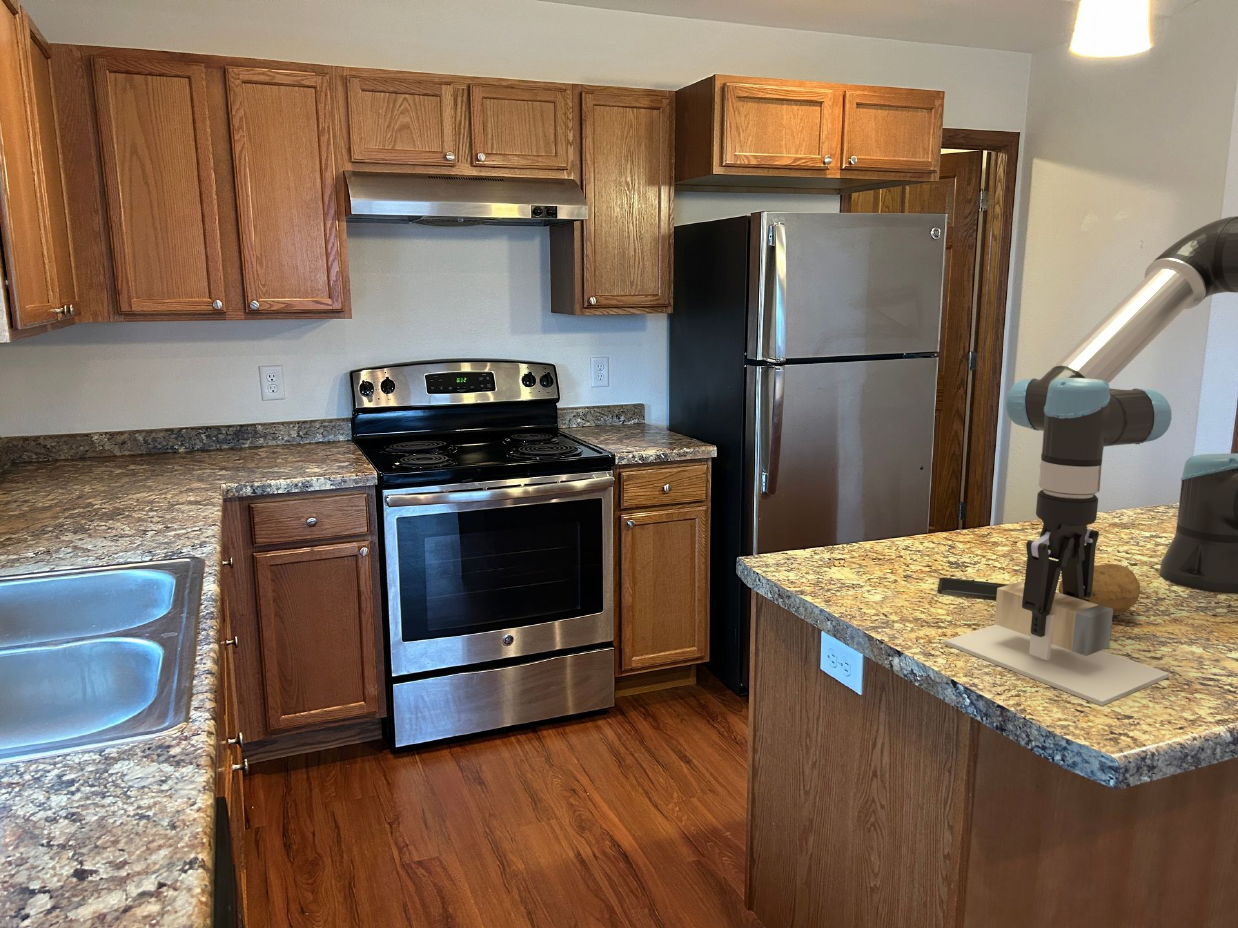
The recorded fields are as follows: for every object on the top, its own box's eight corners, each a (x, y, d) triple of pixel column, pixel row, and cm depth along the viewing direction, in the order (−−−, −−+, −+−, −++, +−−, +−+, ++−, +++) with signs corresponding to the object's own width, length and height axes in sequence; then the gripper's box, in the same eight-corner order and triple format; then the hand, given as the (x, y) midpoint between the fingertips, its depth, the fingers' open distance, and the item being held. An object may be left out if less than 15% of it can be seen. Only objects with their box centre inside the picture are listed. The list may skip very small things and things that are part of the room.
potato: (1037, 611, 149) (1041, 564, 148) (1100, 600, 155) (1105, 554, 153) (1088, 632, 141) (1093, 582, 139) (1152, 619, 146) (1158, 571, 144)
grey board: (944, 644, 136) (944, 640, 136) (1011, 622, 144) (1011, 619, 144) (1101, 705, 116) (1102, 701, 116) (1168, 677, 125) (1169, 673, 124)
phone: (1032, 600, 152) (937, 589, 158) (1032, 607, 152) (936, 595, 158) (1031, 586, 159) (940, 576, 165) (1030, 592, 160) (939, 582, 165)
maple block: (1020, 581, 136) (1113, 609, 125) (1017, 616, 137) (1109, 647, 126) (997, 588, 133) (1090, 617, 122) (994, 623, 134) (1086, 656, 123)
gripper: (1080, 479, 133) (1065, 630, 138) (1001, 495, 124) (988, 656, 128) (1132, 489, 127) (1115, 646, 132) (1053, 506, 117) (1037, 675, 122)
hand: (1052, 651), depth 130 cm, fingers closed on maple block, 5 cm apart
